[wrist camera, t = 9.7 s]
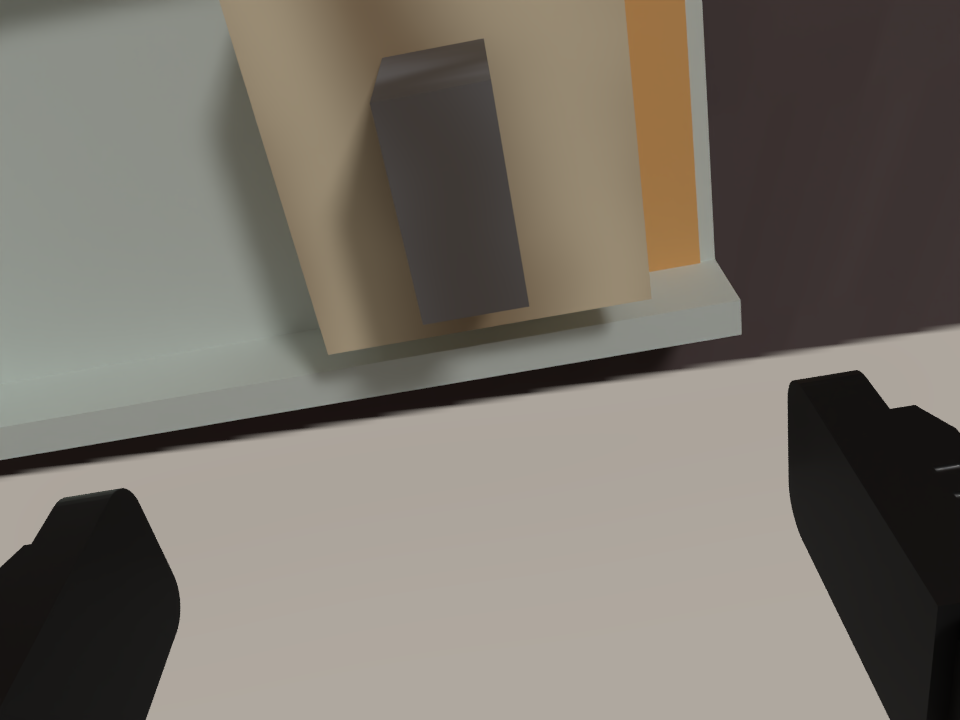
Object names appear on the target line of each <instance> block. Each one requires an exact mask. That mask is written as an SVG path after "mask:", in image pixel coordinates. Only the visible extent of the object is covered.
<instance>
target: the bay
mask: <svg viewBox="0 0 960 720" xmlns="http://www.w3.org/2000/svg"><path fill="white" fill-rule="evenodd" d="M624 1H625V12H626V23H627V34H628V45H629V56H630V67H631V78H632V89H633V100H634V111H635V122H636V133H637V144H638V155H639V166H640V177H641V188H642V199H643V210H644V221H645V232H646V242H647V253H648V264H649V275H650V286H651V297H652V299H649V300H643V301H637V302H631V303H625V304H620V305H614V306H608V307H602V308H597V309H591V310H585V311H579V312H573V313H568V314H562V315H556V316H550V317H545V318H539V319H533V320H527V321H521V322H516V323H510V324H504V325H498V326H493V327H487V328H481V329H475V330H469V331H464V332H458V333H452V334H446V335H441V336H435V337H429V338H423V339H417V340H412V341H406V342H400V343H394V344H389V345H383V346H377V347H371V348H365V349H360V350H354V351H348V352H342V353H337V354H331V355H328V353H327V349H326V346H325V343H324V340H323V336H322V333H321V330H320V327H319V323H318V320H317V317H316V314H315V310H314V307H313V304H312V301H311V297H310V294H309V291H308V288H307V284H306V281H305V278H304V275H303V271H302V268H301V265H300V262H299V258H298V255H297V252H296V249H295V245H294V242H293V239H292V236H291V232H290V229H289V226H288V223H287V219H286V216H285V213H284V210H283V206H282V203H281V200H280V197H279V193H278V190H277V187H276V184H275V180H274V177H273V174H272V171H271V167H270V164H269V161H268V158H267V154H266V151H265V148H264V145H263V141H262V138H261V135H260V132H259V128H258V125H257V122H256V119H255V115H254V112H253V109H252V106H251V102H250V99H249V96H248V93H247V89H246V86H245V83H244V80H243V76H242V73H241V70H240V67H239V63H238V60H237V57H236V54H235V50H234V47H233V44H232V41H231V37H230V34H229V31H228V28H227V24H226V21H225V18H224V15H223V11H222V8H221V5H220V2H219V0H0V460H4V459H10V458H16V457H22V456H28V455H34V454H39V453H45V452H51V451H57V450H63V449H69V448H75V447H81V446H87V445H93V444H98V443H104V442H110V441H116V440H122V439H128V438H134V437H140V436H146V435H152V434H157V433H163V432H169V431H175V430H181V429H187V428H193V427H199V426H205V425H211V424H216V423H222V422H228V421H234V420H240V419H246V418H252V417H258V416H264V415H269V414H275V413H281V412H287V411H293V410H299V409H305V408H311V407H317V406H323V405H328V404H334V403H340V402H346V401H352V400H358V399H364V398H370V397H376V396H382V395H387V394H393V393H399V392H405V391H411V390H417V389H423V388H429V387H435V386H441V385H446V384H452V383H458V382H464V381H470V380H476V379H482V378H488V377H494V376H499V375H505V374H511V373H517V372H523V371H529V370H535V369H541V368H547V367H553V366H558V365H564V364H570V363H576V362H582V361H588V360H594V359H600V358H606V357H612V356H617V355H623V354H629V353H635V352H641V351H647V350H653V349H659V348H665V347H671V346H676V345H682V344H688V343H694V342H700V341H706V340H712V339H718V338H724V337H729V336H735V335H741V334H742V332H741V303H740V299H739V297H738V296H737V294H736V292H735V291H734V289H733V288H732V286H731V284H730V283H729V281H728V280H727V278H726V276H725V275H724V273H723V272H722V270H721V268H720V267H719V265H718V264H717V262H716V260H715V253H714V233H713V213H712V193H711V173H710V152H709V132H708V112H707V92H706V72H705V52H704V31H703V11H702V0H624Z"/></svg>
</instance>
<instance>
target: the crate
mask: <svg viewBox="0 0 960 720" xmlns="http://www.w3.org/2000/svg"><path fill="white" fill-rule="evenodd" d="M219 2H220V5H221V8H222V11H223V15H224V18H225V21H226V24H227V28H228V31H229V34H230V37H231V41H232V44H233V47H234V50H235V54H236V57H237V60H238V63H239V67H240V70H241V73H242V76H243V80H244V83H245V86H246V89H247V93H248V96H249V99H250V102H251V106H252V109H253V112H254V115H255V119H256V122H257V125H258V128H259V132H260V135H261V138H262V141H263V145H264V148H265V151H266V154H267V158H268V161H269V164H270V167H271V171H272V174H273V177H274V180H275V184H276V187H277V190H278V193H279V197H280V200H281V203H282V206H283V210H284V213H285V216H286V219H287V223H288V226H289V229H290V232H291V236H292V239H293V242H294V245H295V249H296V252H297V255H298V258H299V262H300V265H301V268H302V271H303V275H304V278H305V281H306V284H307V288H308V291H309V294H310V297H311V301H312V304H313V307H314V310H315V314H316V317H317V320H318V323H319V327H320V330H321V333H322V336H323V340H324V343H325V346H326V349H327V353H328V355H331V354H337V353H342V352H348V351H354V350H360V349H365V348H371V347H377V346H383V345H389V344H394V343H400V342H406V341H412V340H417V339H423V338H429V337H435V336H441V335H446V334H452V333H458V332H464V331H469V330H475V329H481V328H487V327H493V326H498V325H504V324H510V323H516V322H521V321H527V320H533V319H539V318H545V317H550V316H556V315H562V314H568V313H573V312H579V311H585V310H591V309H597V308H602V307H608V306H614V305H620V304H625V303H631V302H637V301H643V300H649V299H652V297H651V286H650V275H649V264H648V253H647V242H646V232H645V221H644V210H643V199H642V188H641V177H640V166H639V155H638V144H637V133H636V122H635V111H634V100H633V89H632V78H631V67H630V56H629V45H628V34H627V23H626V12H625V1H624V0H219Z"/></svg>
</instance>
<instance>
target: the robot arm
mask: <svg viewBox="0 0 960 720" xmlns="http://www.w3.org/2000/svg"><path fill="white" fill-rule="evenodd" d="M788 456H789V457H788V458H789V459H788V460H789V461H788V462H789V493H790V500H791V505H792V510H793V514H794V518H795V521H796V525H797V528H798V531H799V533H800V536H801V538H802V540H803V542H804V544H805V546H806V548H807V550H808V553H809V555H810V556H811V559H812V561H813V563H814V565H815V567H816V569H817V571H818V573H819V575H820V577H821V579H822V581H823V583H824V585H825V587H826V589H827V591H828V593H829V596H830V598H831V600H832V602H833V604H834V606H835V608H836V610H837V612H838V614H839V616H840V618H841V620H842V622H843V624H844V626H845V628H846V630H847V632H848V634H849V636H850V638H851V641H852V643H853V645H854V646H855V649H856V651H857V653H858V655H859V657H860V659H861V661H862V663H863V665H864V667H865V669H866V671H867V673H868V675H869V677H870V679H871V681H872V684H873V685H874V687H875V690H876V692H877V694H878V696H879V698H880V700H881V702H882V704H883V706H884V708H885V710H886V712H887V714H888V716H889V718H890V720H960V433H959V432H958V430H957V429H956V428H954V427H953V426H951V425H949V424H947V423H946V422H944V421H942V420H940V419H939V418H937V417H935V416H933V415H931V414H930V413H928V412H926V411H924V410H923V409H921V408H919V407H918V406H916V405H912V406H906V407H900V408H893V409H889V407H888V406H887V405H886V403H885V402H884V401H883V400H882V398H881V397H880V395H879V394H878V393H877V391H876V390H875V389H874V387H873V386H872V385H871V383H870V382H869V381H868V379H867V378H866V377H865V376H864V374H862V373H861V372H860V371H858V370H855V371H849V372H843V373H837V374H831V375H825V376H818V377H812V378H806V379H800V380H794V381H792V382H791V383H790V385H789V389H788ZM179 618H180V597H179V591H178V586H177V583H176V580H175V577H174V575H173V573H172V571H171V568H170V567H169V564H168V562H167V560H166V558H165V556H164V554H163V552H162V550H161V548H160V546H159V544H158V542H157V539H156V537H155V535H154V533H153V531H152V529H151V527H150V525H149V523H148V521H147V518H146V516H145V514H144V512H143V510H142V508H141V506H140V504H139V502H138V500H137V498H136V497H135V496H134V494H133V493H131V492H130V491H129V490H127V489H124V488H122V489H115V490H109V491H102V492H96V493H90V494H85V495H78V496H72V497H66V498H63V499H61V500H59V501H58V502H57V503H56V505H55V506H54V507H53V509H52V511H51V512H50V514H49V516H48V518H47V519H46V521H45V523H44V524H43V526H42V527H41V529H40V531H39V532H38V534H37V536H36V537H35V539H34V541H33V542H32V544H29V545H24V546H23V547H22V548H21V549H20V550H19V551H17V552H16V553H15V554H14V555H13V556H12V557H11V558H10V559H9V560H8V561H7V562H6V563H5V564H4V565H2V566H1V567H0V720H146V717H147V714H148V711H149V709H150V706H151V703H152V700H153V697H154V694H155V692H156V689H157V686H158V683H159V680H160V678H161V675H162V672H163V669H164V666H165V663H166V660H167V658H168V655H169V652H170V649H171V646H172V643H173V641H174V638H175V635H176V632H177V629H178V625H179Z"/></svg>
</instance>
